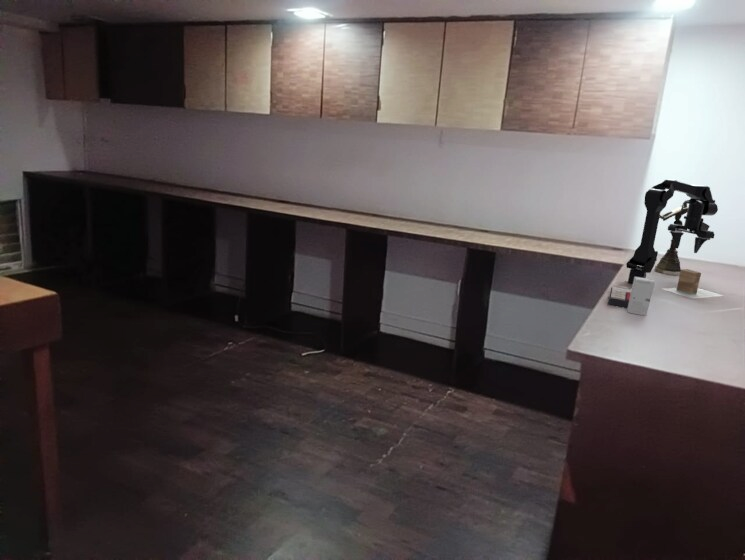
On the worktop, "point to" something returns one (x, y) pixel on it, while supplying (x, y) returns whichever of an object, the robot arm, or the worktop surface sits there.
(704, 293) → the white mat
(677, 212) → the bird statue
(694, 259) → the worktop surface
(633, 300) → the skincare box
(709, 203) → the robot arm
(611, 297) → the white black red box
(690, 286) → the wooden block
